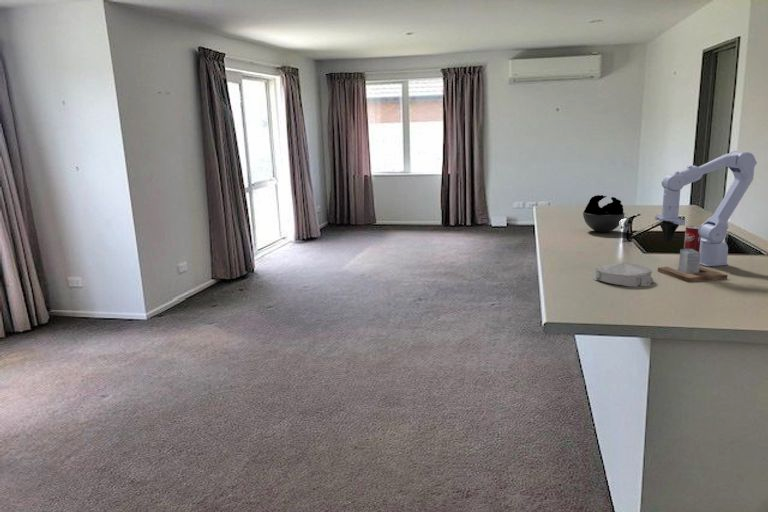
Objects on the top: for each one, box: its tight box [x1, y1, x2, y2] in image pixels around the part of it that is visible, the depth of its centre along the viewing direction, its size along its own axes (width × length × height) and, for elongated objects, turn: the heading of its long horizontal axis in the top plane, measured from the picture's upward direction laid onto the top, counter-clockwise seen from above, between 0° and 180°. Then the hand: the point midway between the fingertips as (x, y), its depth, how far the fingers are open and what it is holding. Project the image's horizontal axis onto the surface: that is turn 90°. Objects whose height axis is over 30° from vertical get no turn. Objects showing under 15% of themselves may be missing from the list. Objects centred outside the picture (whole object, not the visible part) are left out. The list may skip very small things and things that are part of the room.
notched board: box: [657, 265, 729, 283], centre depth 211 cm, size 16×16×2 cm
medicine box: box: [678, 248, 701, 274], centre depth 212 cm, size 8×4×9 cm, turn 172°
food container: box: [592, 261, 654, 288], centre depth 206 cm, size 20×20×7 cm
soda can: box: [683, 225, 701, 252], centre depth 241 cm, size 7×7×12 cm
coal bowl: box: [582, 194, 626, 233], centre depth 297 cm, size 20×20×19 cm
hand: (667, 240), depth 226 cm, fingers closed
